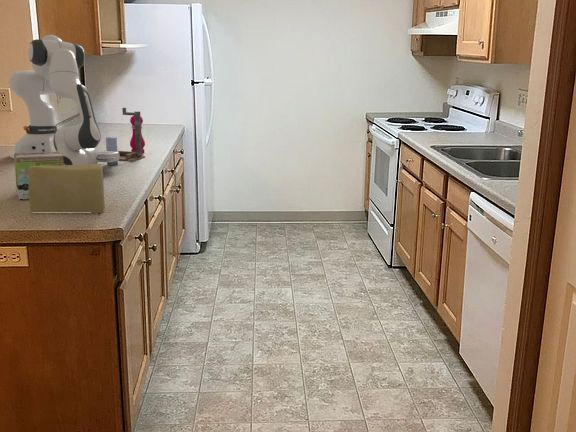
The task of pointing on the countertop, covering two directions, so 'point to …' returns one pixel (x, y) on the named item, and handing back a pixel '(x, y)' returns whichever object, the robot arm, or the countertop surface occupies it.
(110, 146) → the grey tapered cup
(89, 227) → the countertop surface
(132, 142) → the pepper mill
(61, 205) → the olive green box
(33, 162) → the tea box
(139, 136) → the hanger stand
